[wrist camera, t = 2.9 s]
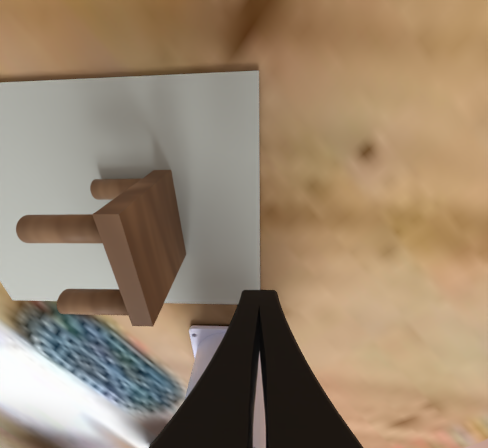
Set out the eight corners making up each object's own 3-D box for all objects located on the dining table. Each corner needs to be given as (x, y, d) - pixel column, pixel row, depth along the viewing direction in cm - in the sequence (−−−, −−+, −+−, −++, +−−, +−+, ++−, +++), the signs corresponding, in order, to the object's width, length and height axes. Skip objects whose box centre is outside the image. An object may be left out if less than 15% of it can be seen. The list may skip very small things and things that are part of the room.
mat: (260, 302, 22) (260, 304, 22) (15, 297, 24) (12, 300, 24) (258, 71, 14) (259, 70, 14) (-119, 88, 16) (-125, 88, 15)
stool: (171, 169, 17) (119, 214, 10) (186, 254, 20) (152, 326, 14) (98, 170, 17) (5, 215, 11) (124, 254, 20) (65, 324, 14)
